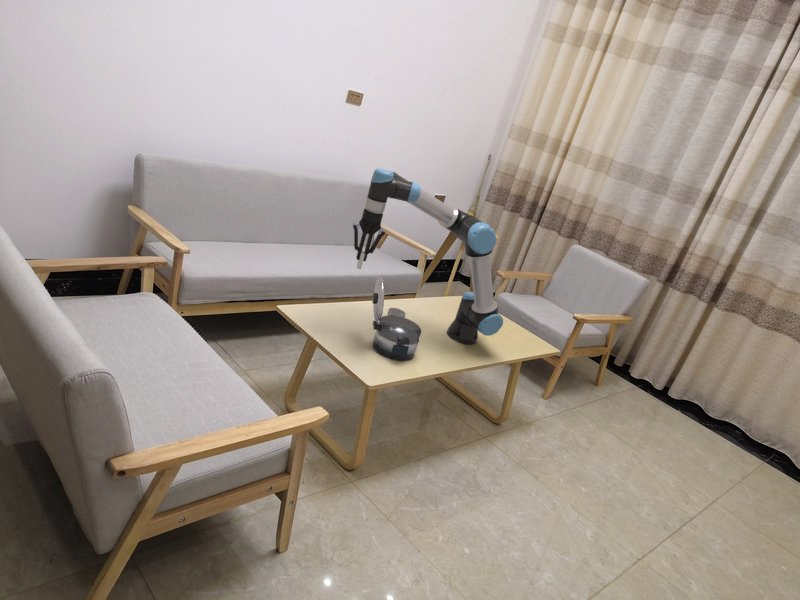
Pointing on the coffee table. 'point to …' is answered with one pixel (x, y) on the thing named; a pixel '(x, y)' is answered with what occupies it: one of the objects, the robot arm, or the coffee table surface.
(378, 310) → the lid
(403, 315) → the cup
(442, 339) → the coffee table surface
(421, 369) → the coffee table surface
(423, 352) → the coffee table surface
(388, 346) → the cooker
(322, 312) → the coffee table surface
